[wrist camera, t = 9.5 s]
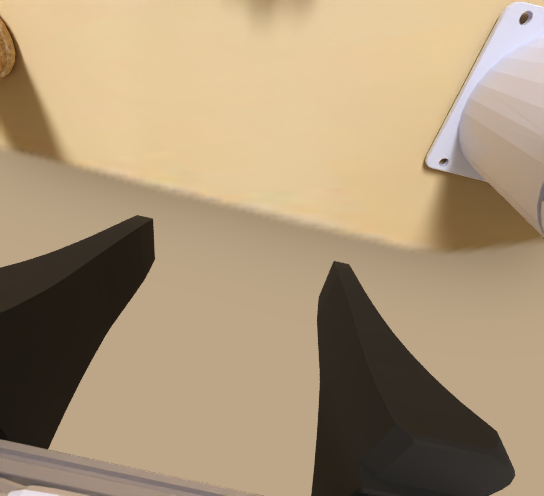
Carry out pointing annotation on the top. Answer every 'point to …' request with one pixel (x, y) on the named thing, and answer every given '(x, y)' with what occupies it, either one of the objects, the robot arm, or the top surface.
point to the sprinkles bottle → (6, 51)
